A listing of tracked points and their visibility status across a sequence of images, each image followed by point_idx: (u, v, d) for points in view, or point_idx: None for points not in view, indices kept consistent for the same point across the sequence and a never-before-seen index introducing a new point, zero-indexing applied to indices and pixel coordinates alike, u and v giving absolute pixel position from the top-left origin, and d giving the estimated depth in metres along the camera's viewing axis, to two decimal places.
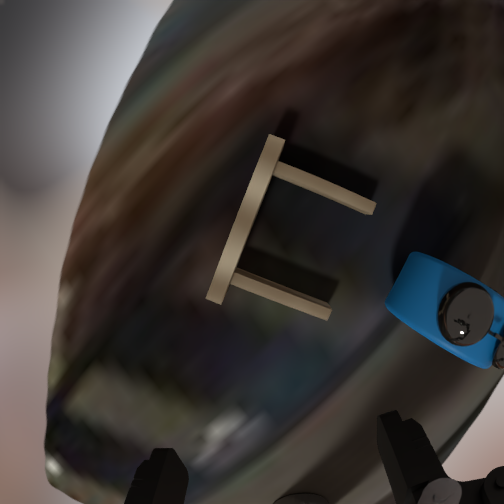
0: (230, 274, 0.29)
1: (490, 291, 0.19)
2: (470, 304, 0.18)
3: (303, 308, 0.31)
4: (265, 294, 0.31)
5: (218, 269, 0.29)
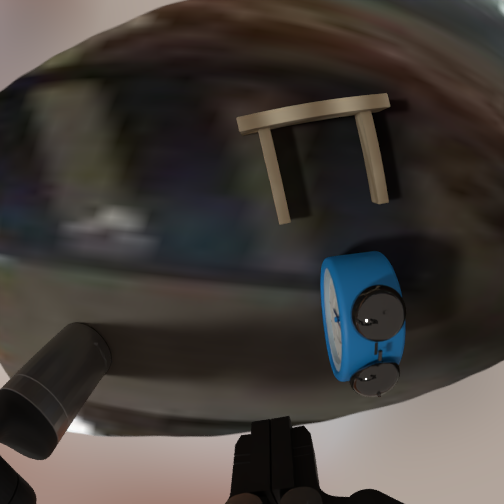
0: (269, 123, 0.30)
1: (404, 322, 0.25)
2: (392, 305, 0.23)
3: (277, 198, 0.33)
4: (268, 162, 0.32)
5: (266, 112, 0.29)
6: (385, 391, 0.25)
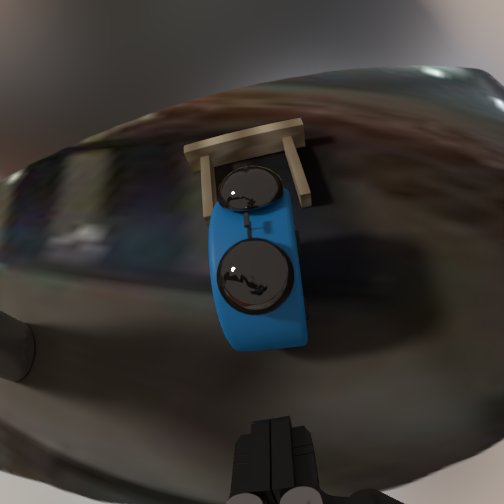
0: (205, 145, 0.40)
1: (287, 203, 0.22)
2: (256, 167, 0.23)
3: (204, 198, 0.38)
4: (203, 175, 0.40)
5: (205, 140, 0.41)
6: (261, 275, 0.18)
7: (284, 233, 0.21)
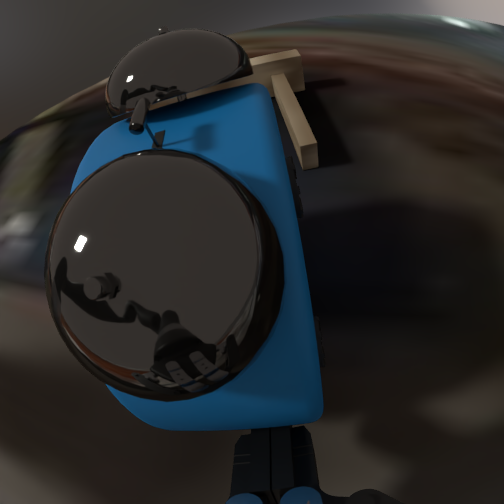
0: None
1: (259, 89, 0.08)
2: None
3: None
4: None
5: None
6: (142, 273, 0.04)
7: (250, 144, 0.07)
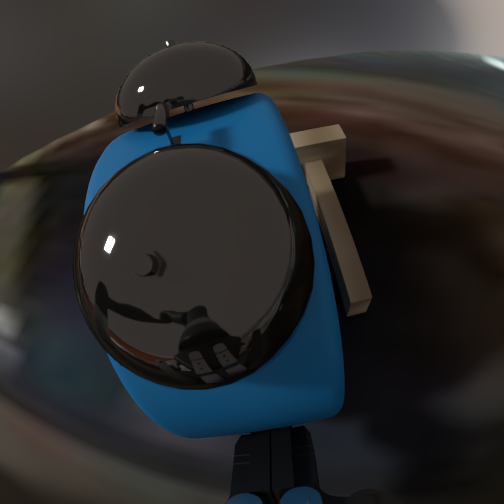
0: None
1: (265, 97, 0.09)
2: None
3: None
4: None
5: None
6: (192, 249, 0.04)
7: (266, 144, 0.07)
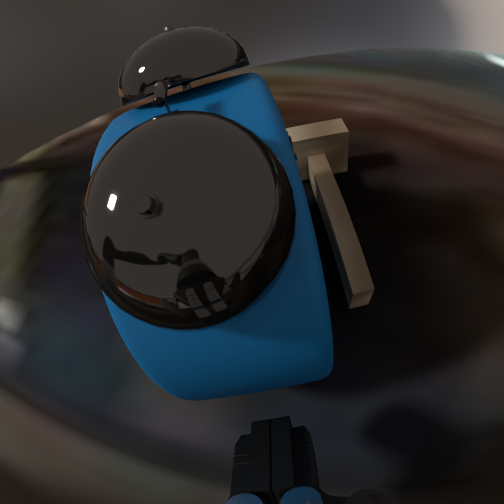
0: None
1: (256, 76, 0.09)
2: None
3: None
4: None
5: None
6: (185, 191, 0.05)
7: (255, 114, 0.08)
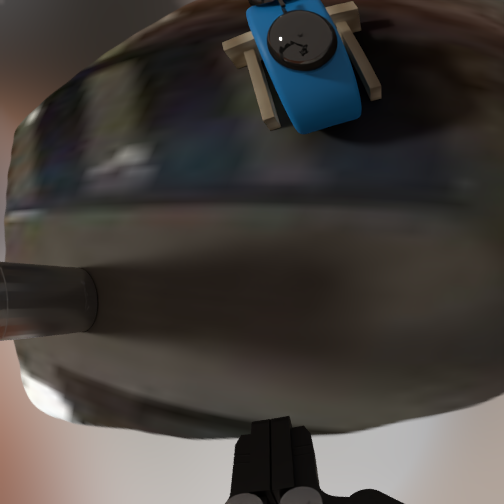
0: (248, 39, 0.30)
1: None
2: None
3: (260, 98, 0.30)
4: (252, 72, 0.31)
5: (246, 33, 0.30)
6: (309, 30, 0.16)
7: (317, 8, 0.18)
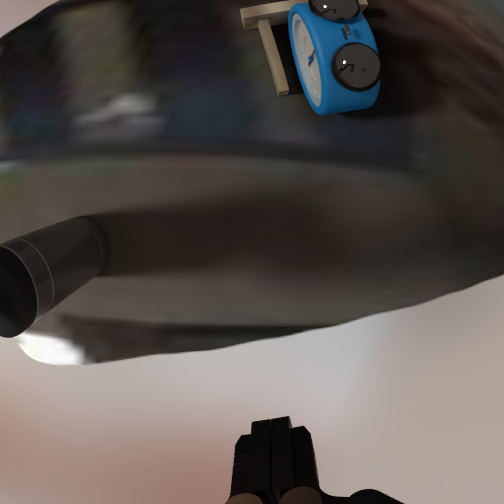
0: (267, 12, 0.30)
1: (363, 16, 0.22)
2: None
3: (276, 70, 0.33)
4: (267, 43, 0.32)
5: (265, 5, 0.30)
6: (371, 69, 0.22)
7: (369, 38, 0.23)
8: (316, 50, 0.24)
